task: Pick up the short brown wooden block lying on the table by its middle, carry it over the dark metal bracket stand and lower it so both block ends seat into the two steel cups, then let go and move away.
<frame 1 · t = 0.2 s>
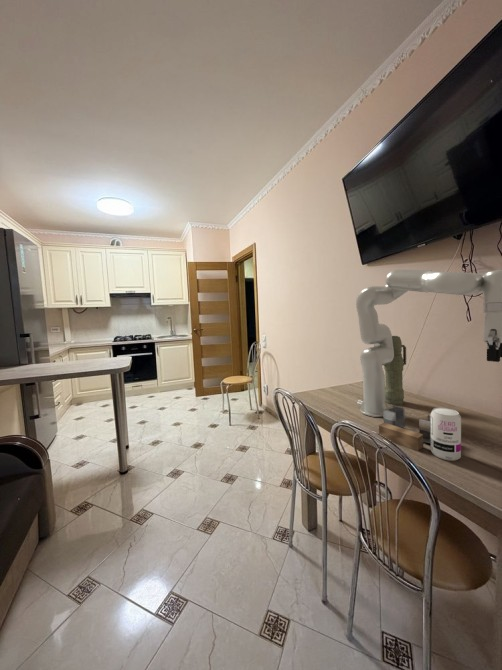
hand: (497, 359, 90), 31 cm above the table, tool pointing down, fingers open, 9 cm apart
thermos: (394, 402, 141), on the table
bracket stand: (411, 434, 105), on the table
brown wooden block: (400, 442, 100), on the table
supplement can: (445, 455, 90), on the table
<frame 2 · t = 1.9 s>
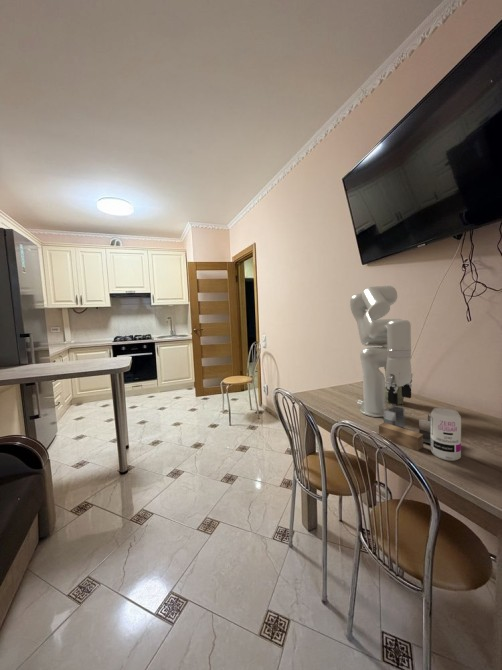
hand: (399, 400, 99), 16 cm above the table, tool pointing down, fingers open, 9 cm apart
nothing on the table moved.
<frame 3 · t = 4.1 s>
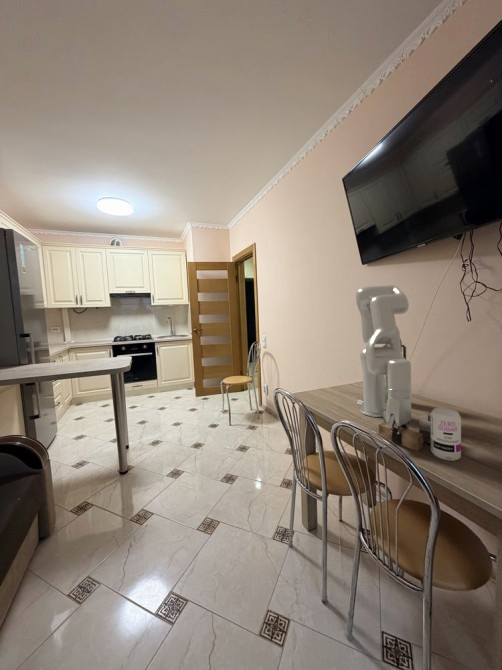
hand: (400, 440, 100), 1 cm above the table, tool pointing down, fingers closed on brown wooden block, 4 cm apart
brown wooden block: (399, 442, 100), on the table, touching gripper
everything else where it was.
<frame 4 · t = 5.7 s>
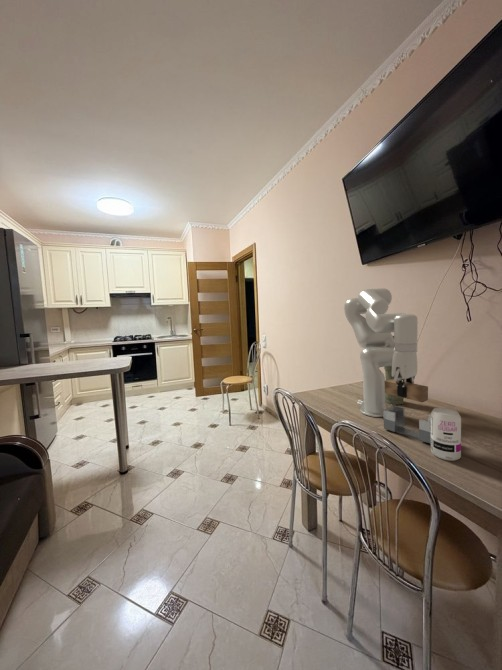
hand: (405, 394, 102), 17 cm above the table, tool pointing down, fingers closed on brown wooden block, 4 cm apart
brown wooden block: (405, 396, 102), point 16 cm above the table, touching gripper
everything else where it was.
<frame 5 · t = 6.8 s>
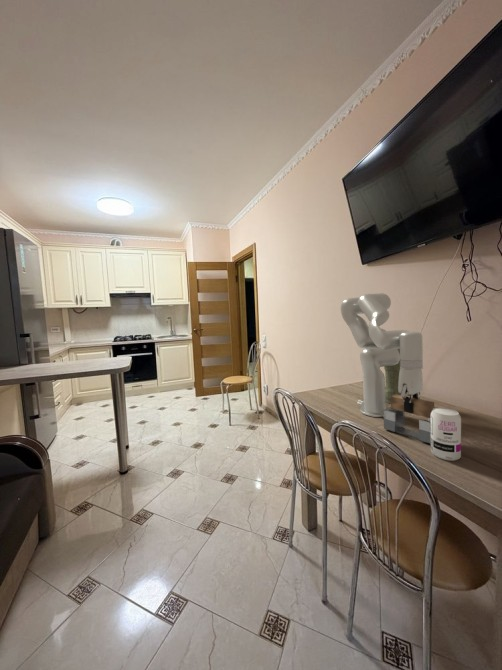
hand: (411, 410, 104), 10 cm above the table, tool pointing down, fingers closed on brown wooden block, 4 cm apart
brown wooden block: (411, 411, 104), point 9 cm above the table, touching gripper
everything else where it was.
when the fingers open (7 cm above the table, at t = 7.6 s): brown wooden block drops 1 cm, resting on bracket stand.
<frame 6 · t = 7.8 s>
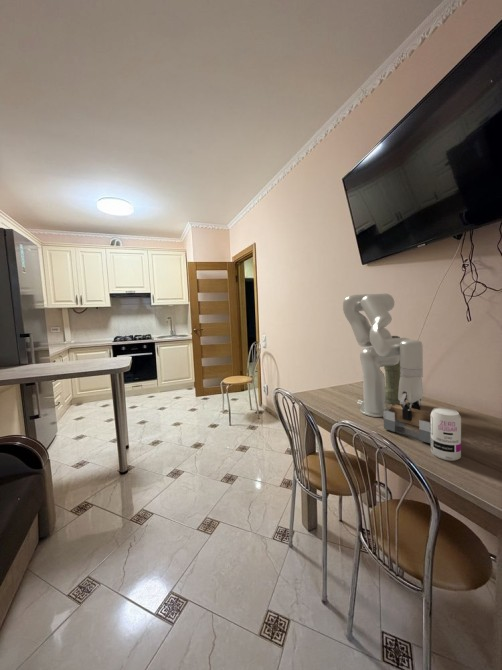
hand: (411, 417, 104), 7 cm above the table, tool pointing down, fingers open, 6 cm apart
brown wooden block: (411, 422, 105), point 5 cm above the table, touching bracket stand
everything else where it was.
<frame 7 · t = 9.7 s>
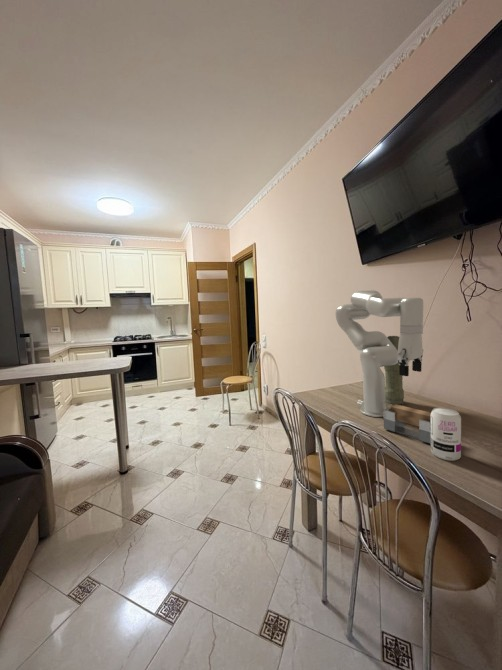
hand: (410, 373, 105), 24 cm above the table, tool pointing down, fingers open, 9 cm apart
nothing on the table moved.
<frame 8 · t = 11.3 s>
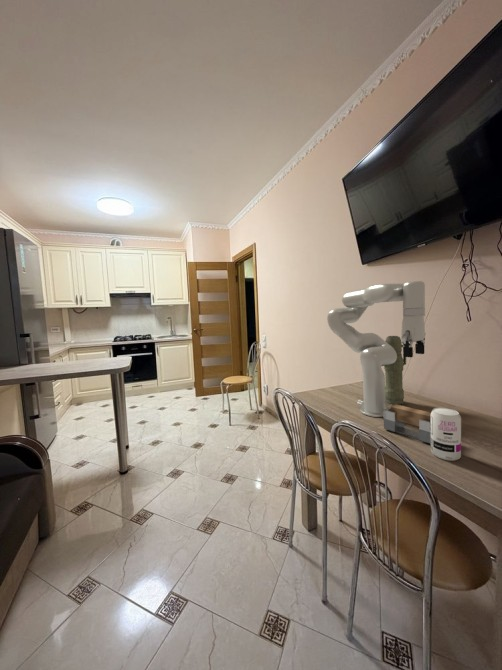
hand: (414, 355, 108), 30 cm above the table, tool pointing down, fingers open, 9 cm apart
nothing on the table moved.
at the end: brown wooden block 0.1 cm off-centre on the bracket stand, point 5.0 cm above the bracket stand's base; brown wooden block tilted 0°; the gripper is holding nothing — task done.
